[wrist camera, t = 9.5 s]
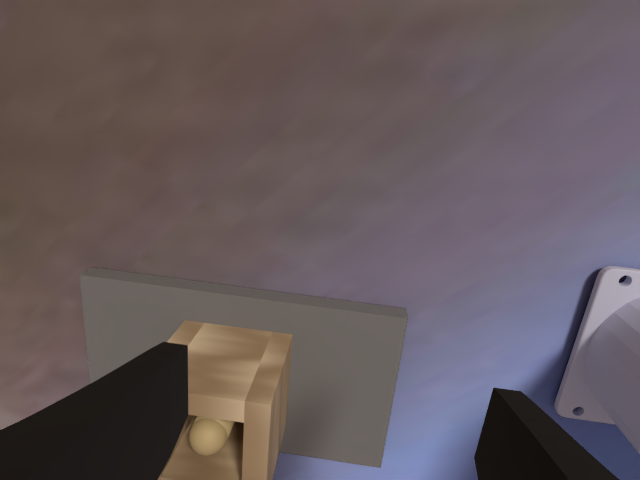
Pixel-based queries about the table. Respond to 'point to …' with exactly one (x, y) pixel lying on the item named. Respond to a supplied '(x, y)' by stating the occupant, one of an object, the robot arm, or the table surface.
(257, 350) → the bead
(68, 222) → the table surface
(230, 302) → the grey peg stand
